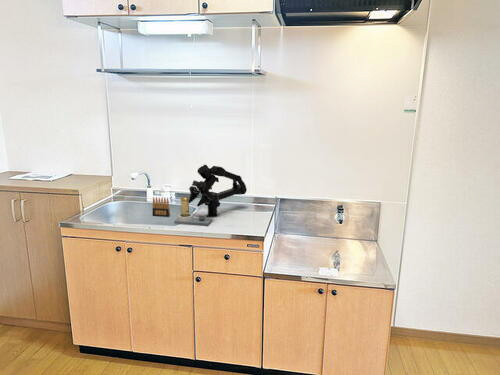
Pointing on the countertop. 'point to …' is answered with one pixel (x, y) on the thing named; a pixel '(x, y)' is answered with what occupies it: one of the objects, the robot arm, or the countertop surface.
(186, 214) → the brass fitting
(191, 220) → the grey flat piece
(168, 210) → the ammunition clip
